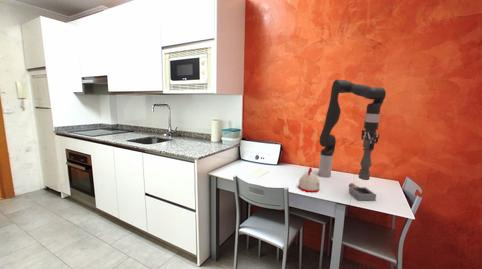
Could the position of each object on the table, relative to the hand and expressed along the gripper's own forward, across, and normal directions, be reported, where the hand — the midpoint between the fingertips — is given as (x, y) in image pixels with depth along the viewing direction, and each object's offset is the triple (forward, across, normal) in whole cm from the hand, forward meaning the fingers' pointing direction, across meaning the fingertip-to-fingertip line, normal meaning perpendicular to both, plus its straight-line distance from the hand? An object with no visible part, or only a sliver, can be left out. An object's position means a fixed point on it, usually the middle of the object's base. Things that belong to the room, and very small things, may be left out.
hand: (368, 148), depth 137 cm
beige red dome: (+33, +13, +30) cm, 46 cm away
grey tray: (+33, +3, 0) cm, 33 cm away
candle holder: (+20, 0, 0) cm, 20 cm away
